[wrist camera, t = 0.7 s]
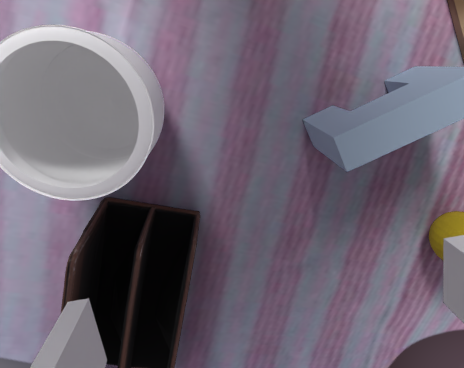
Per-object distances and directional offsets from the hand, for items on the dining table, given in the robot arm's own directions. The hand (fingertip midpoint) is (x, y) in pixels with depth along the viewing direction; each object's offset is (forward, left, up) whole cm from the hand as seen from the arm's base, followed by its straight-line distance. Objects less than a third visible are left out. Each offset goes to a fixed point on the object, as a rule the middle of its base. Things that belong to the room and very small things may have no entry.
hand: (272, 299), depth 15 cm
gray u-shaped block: (-5, +13, -27) cm, 30 cm away
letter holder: (+16, -8, -27) cm, 32 cm away
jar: (-4, -11, -27) cm, 29 cm away
